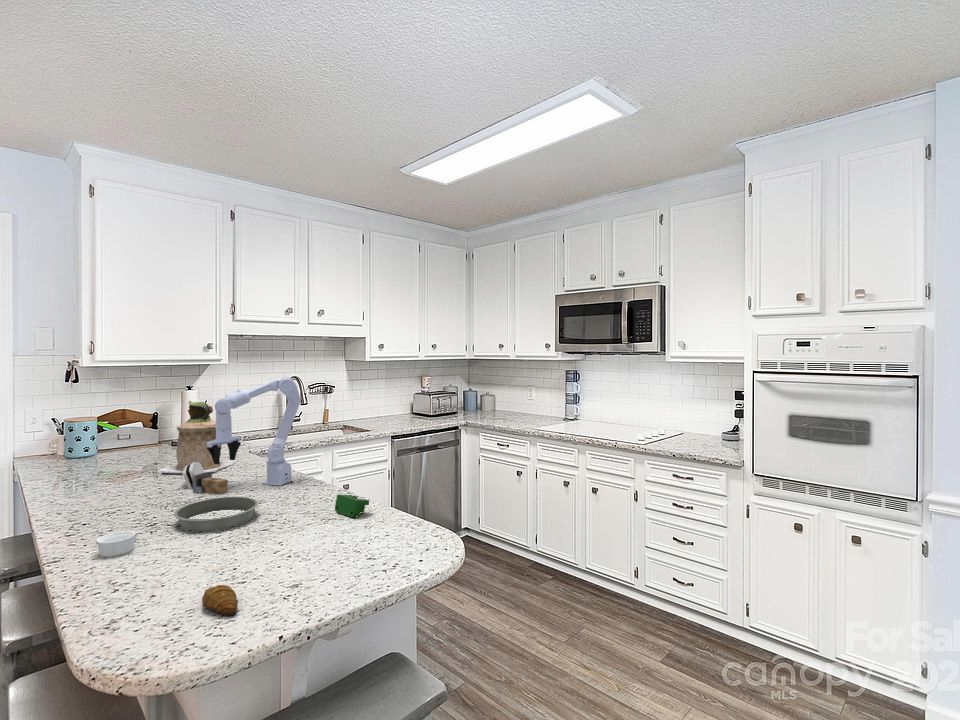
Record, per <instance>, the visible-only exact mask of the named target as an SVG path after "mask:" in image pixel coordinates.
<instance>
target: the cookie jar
mask: <svg viewBox="0 0 960 720" xmlns="http://www.w3.org/2000/svg"><path fill="white" fill-rule="evenodd" d="M188 405H189V406H188V410H187V412H188V414H189V418H188V419H187V421H185V422H183V423H182V424H180V425H179V424H178V425H177V426H176V429H177V431H178V438H177V443H176V444H177V445H176V446H177V447H176V451H175V453H176V454H175V455H176V460H177V465H176V464H175V465H170V466H168V467H167V466H166V467H164V468H163V467H162V468H159V472H160V475H161V474H162V473H163V474H183V470H184V468H185V467H186V466H187V465H189V464H192V463H193V462H200V464H201V466H202V468H203V470H204V472H212V473H216V472H218V471H219V470H223V469H225V468H228V467H230V466H232V465H235V464H236V463H237V460H236V459H235V460H230V459H220V462H219V464H214V462H213V459H212V456H211V454H210V452H209V451H208V449H207V442H210V441H213V440H215V439H216V420H215V419H214V420H213V419H211V416H210V414H212V413H213V412H214V410H213V407H212V406H211V405H208V403H207V402H204V401H198V402H197V401H196V402H195V401H191V400H188ZM218 447H221V448H222V445H218ZM221 451H222V450H221ZM221 451H220V457H221V455H222V452H221ZM163 474H162V475H163Z"/></svg>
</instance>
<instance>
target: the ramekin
mask: <svg viewBox="0 0 960 720" xmlns="http://www.w3.org/2000/svg"><path fill="white" fill-rule="evenodd" d="M135 537H136V532H135V531H131V530H124V531H122V530H121V531H117V532H112V533H111V532H110V533H108V534H104V535H101V536H100V537H98V538H97V539H96V544H97V547H98V548H97V549H98V554H99V556H100V557H102V556H103V558H111V557H110V556H113V557H118V556H117V555H119V556H122V554H123V555H125V553H126V554H127V553H130V552H132V551H133V550H134V548H135ZM131 550H132V551H131Z"/></svg>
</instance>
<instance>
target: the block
mask: <svg viewBox="0 0 960 720" xmlns="http://www.w3.org/2000/svg"><path fill="white" fill-rule="evenodd" d="M201 480H202V486H203V487H204V493H205V492H206V493H207V494H212V493H213V495H218V494H219V495H220V494H221V495H224V494H228V493H227V492H229V488H228V487H229V485H228V482H229V481H228V479H225V478H218V477H212V478H211V477H208V478H204V479H201ZM206 493H205V494H206Z"/></svg>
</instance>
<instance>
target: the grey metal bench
mask: <svg viewBox="0 0 960 720" xmlns="http://www.w3.org/2000/svg"><path fill="white" fill-rule="evenodd" d="M212 475H213V472H205V473H201V474H197V475H194V476H192V479H193V488H192V493H194V492H195V494H201V495H202V494H204V493H205V492H204V487H203V486H202V480H201V479H204V478H208V477H211V478H213V476H212Z"/></svg>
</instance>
